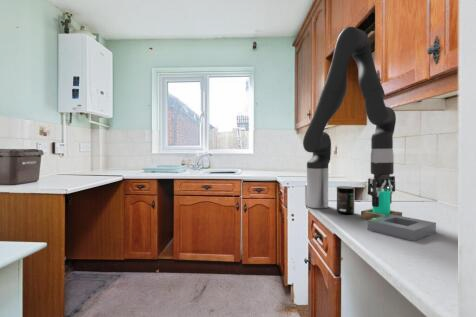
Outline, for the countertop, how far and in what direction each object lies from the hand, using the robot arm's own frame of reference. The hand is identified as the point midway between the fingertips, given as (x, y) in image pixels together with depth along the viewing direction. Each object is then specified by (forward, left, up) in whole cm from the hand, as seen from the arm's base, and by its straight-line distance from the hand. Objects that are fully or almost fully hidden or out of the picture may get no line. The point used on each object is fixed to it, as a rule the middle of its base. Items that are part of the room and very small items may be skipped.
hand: (381, 205), depth 106 cm
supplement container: (-13, -3, -5) cm, 15 cm away
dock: (+12, -10, -5) cm, 16 cm away
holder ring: (0, 0, -5) cm, 5 cm away
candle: (0, 0, -5) cm, 5 cm away
